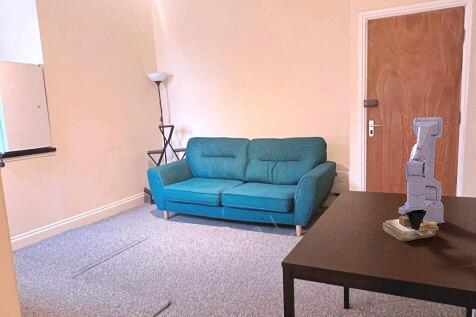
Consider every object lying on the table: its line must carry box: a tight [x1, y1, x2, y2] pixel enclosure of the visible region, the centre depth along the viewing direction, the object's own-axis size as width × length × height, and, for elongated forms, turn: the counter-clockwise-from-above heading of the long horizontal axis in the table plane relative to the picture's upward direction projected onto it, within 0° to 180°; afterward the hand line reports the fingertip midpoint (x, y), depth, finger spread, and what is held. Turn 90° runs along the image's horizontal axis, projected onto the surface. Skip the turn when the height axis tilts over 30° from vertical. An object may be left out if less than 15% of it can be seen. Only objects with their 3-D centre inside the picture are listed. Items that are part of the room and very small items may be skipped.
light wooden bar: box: [419, 221, 438, 231], centre depth 125 cm, size 7×2×2 cm, turn 101°
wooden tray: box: [382, 222, 436, 242], centre depth 133 cm, size 14×12×3 cm
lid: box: [384, 215, 440, 236], centre depth 130 cm, size 14×15×4 cm
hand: (415, 229), depth 124 cm, fingers closed
